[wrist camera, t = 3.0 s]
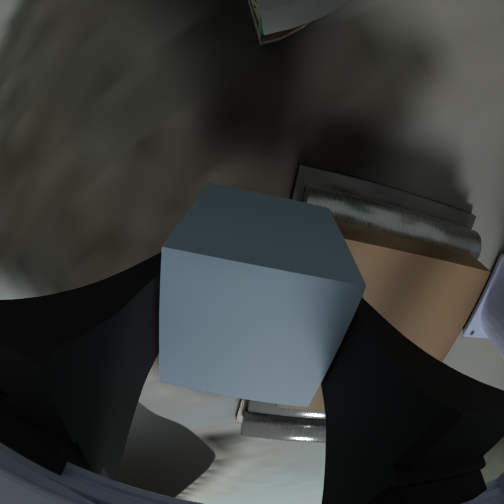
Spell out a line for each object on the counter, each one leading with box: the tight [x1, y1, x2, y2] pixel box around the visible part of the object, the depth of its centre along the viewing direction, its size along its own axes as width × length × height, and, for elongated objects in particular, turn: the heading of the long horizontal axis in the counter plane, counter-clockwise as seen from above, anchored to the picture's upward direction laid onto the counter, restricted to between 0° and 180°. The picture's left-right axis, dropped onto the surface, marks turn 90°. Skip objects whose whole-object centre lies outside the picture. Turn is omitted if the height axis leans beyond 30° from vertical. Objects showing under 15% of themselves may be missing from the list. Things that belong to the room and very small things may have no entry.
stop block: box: [159, 184, 366, 407], centre depth 11 cm, size 5×5×6 cm
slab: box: [276, 221, 490, 411], centre depth 17 cm, size 10×12×2 cm
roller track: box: [235, 164, 481, 443], centre depth 22 cm, size 13×24×3 cm, turn 170°
